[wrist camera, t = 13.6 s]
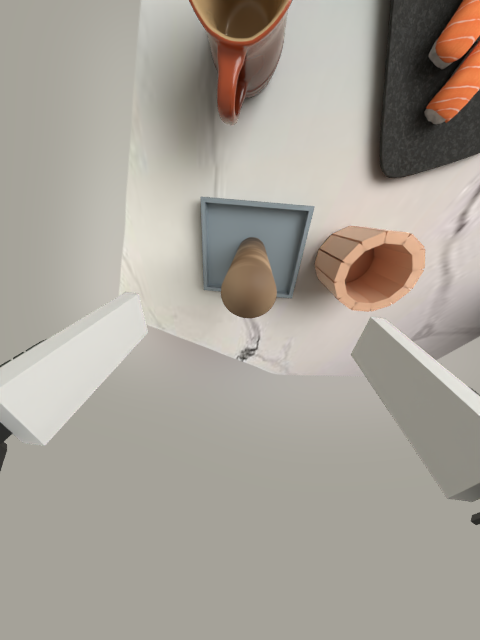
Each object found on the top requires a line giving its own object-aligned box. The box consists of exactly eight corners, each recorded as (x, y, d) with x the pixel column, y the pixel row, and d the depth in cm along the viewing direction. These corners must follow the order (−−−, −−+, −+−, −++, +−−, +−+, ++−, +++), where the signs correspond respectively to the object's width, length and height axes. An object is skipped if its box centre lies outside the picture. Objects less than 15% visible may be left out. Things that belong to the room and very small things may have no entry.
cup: (391, 229, 27) (445, 235, 20) (363, 290, 32) (396, 314, 25) (326, 223, 27) (353, 227, 20) (308, 285, 33) (324, 307, 25)
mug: (214, -33, 17) (172, -287, 8) (300, -4, 18) (345, -217, 9) (201, 136, 23) (169, 90, 15) (265, 154, 24) (271, 120, 15)
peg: (267, 238, 28) (281, 268, 13) (263, 266, 31) (271, 320, 15) (239, 235, 29) (221, 263, 13) (237, 264, 31) (220, 315, 16)
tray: (310, 206, 27) (314, 206, 25) (289, 293, 34) (291, 298, 32) (204, 197, 27) (200, 196, 25) (206, 285, 34) (203, 289, 32)
